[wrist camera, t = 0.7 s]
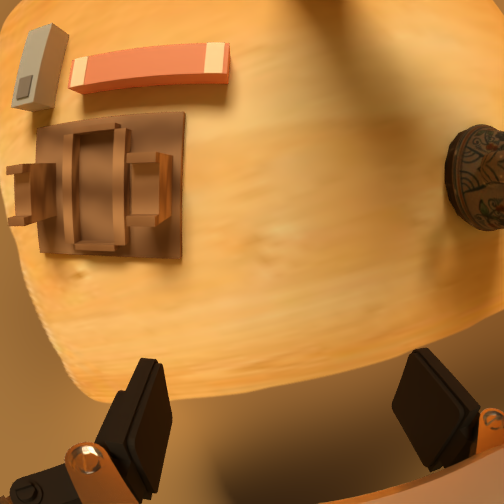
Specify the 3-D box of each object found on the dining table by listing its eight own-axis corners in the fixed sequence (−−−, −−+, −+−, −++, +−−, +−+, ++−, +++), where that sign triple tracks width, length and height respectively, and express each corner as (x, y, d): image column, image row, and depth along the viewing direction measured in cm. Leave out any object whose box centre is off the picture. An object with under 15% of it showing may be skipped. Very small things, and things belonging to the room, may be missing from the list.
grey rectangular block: (47, 41, 28) (28, 30, 22) (69, 35, 28) (51, 22, 23) (33, 111, 31) (9, 107, 26) (54, 107, 31) (32, 101, 26)
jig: (41, 128, 32) (4, 124, 23) (185, 113, 33) (169, 96, 25) (44, 250, 37) (9, 268, 28) (181, 256, 38) (166, 280, 29)
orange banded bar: (87, 69, 30) (71, 59, 26) (230, 56, 32) (229, 42, 27) (83, 94, 32) (66, 87, 27) (228, 84, 33) (226, 72, 28)
